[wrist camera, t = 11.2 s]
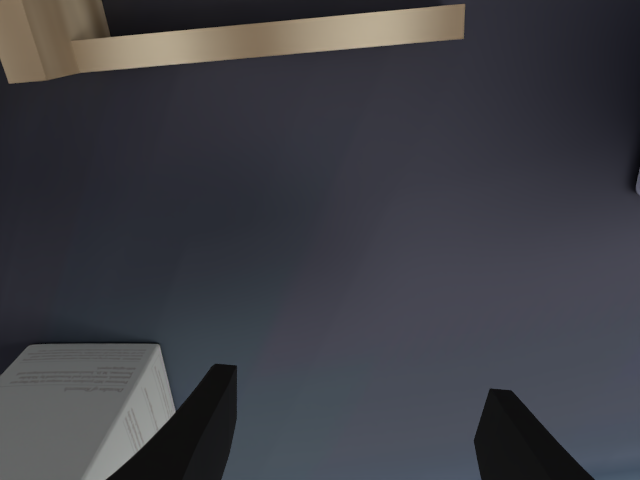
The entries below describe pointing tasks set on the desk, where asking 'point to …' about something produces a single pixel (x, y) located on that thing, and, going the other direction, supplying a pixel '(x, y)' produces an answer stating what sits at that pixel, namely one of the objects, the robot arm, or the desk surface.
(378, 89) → the desk surface
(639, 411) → the desk surface
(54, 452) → the supplement box
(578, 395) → the desk surface
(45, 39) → the lane rack
